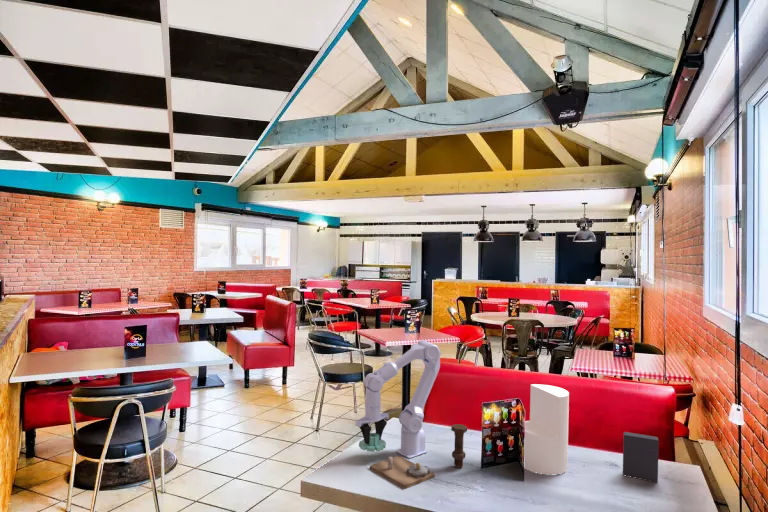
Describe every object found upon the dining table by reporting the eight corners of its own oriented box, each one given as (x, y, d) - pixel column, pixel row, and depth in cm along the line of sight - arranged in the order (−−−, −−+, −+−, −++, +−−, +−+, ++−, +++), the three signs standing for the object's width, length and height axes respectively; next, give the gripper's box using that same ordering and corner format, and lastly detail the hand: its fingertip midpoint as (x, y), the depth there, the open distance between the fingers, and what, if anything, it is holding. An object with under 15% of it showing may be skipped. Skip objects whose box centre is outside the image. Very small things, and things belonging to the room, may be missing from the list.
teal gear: (374, 439, 192) (374, 428, 192) (390, 447, 184) (391, 436, 184) (354, 445, 186) (354, 434, 186) (370, 453, 178) (370, 442, 178)
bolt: (465, 464, 181) (466, 424, 181) (466, 470, 176) (467, 429, 176) (450, 463, 182) (451, 423, 182) (450, 469, 177) (451, 428, 177)
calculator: (656, 478, 173) (657, 436, 173) (657, 483, 169) (658, 440, 169) (622, 471, 178) (623, 430, 177) (622, 476, 174) (623, 434, 174)
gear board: (399, 458, 185) (399, 445, 185) (434, 477, 170) (434, 462, 170) (370, 468, 176) (370, 454, 176) (404, 488, 161) (405, 473, 161)
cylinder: (547, 453, 193) (549, 383, 193) (577, 471, 177) (579, 395, 176) (510, 458, 188) (511, 386, 187) (537, 478, 171) (539, 399, 171)
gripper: (381, 399, 192) (380, 433, 193) (351, 406, 183) (350, 442, 183) (392, 404, 187) (392, 439, 187) (362, 411, 178) (362, 448, 178)
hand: (372, 441), depth 185 cm, fingers closed on teal gear, 5 cm apart
